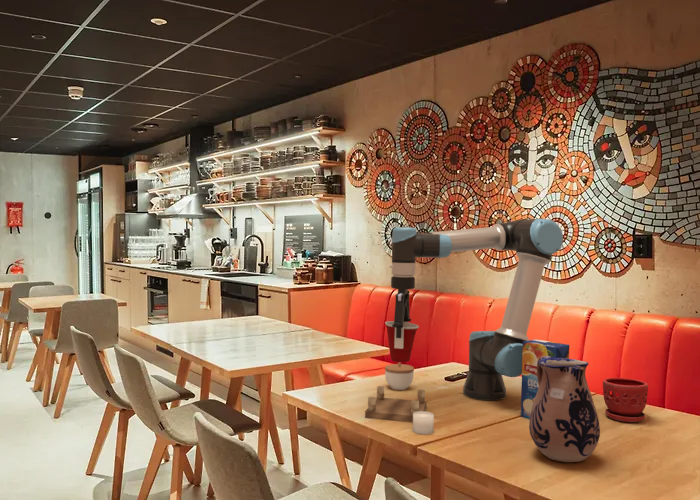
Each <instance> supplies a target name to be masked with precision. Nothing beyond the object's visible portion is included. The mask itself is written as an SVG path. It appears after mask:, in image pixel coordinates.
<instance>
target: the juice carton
mask: <svg viewBox="0 0 700 500" xmlns="http://www.w3.org/2000/svg"><path fill="white" fill-rule="evenodd" d="M543 356H550V357H554V358H567V359H570V344H567V343H566V344H565V343H560V342H556V341H555V342H554V341H548V340H543V339H536V338H535V339H531V340H530V339H529V341H524V342H523V353H522V375H521V387H520V389H521V390H520V391H521V394H520V396H521V397H520V418H524V419H528V420H530V414H531V409H532V406H533V403H534V399H535V397H536V394H537V392H538V389H539V384H538V378H537V363H538V360H539V359H540V358H541V357H543Z"/></svg>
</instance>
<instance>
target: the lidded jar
mask: <svg viewBox="0 0 700 500" xmlns="http://www.w3.org/2000/svg"><path fill="white" fill-rule="evenodd" d="M384 370H385V372H384V375H385V380H386V382H387V385H388V386H389V387H390V388H391V390H395V391H404V390H407V389H408V387H410V386H411V385H412V383H413V380H414V373H415V372H414V371H415V368H414V366H412V365H409V364H402V362H397V363H391V364H387V365H386V366H384Z"/></svg>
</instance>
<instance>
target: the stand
mask: <svg viewBox="0 0 700 500" xmlns="http://www.w3.org/2000/svg"><path fill="white" fill-rule="evenodd" d="M425 398H426V390H425V389H421V388H420V389H417V398H416V400H415V399H404V398H403V399H402V398H391V397H385V386H382V385H378V386H377V387H376V396H367V409H366V410H365V411H364V418H365V419H374V420H375V419H376V420H386V421H396V422H407V423H413V413H414V412H418V411H426V410H427V407H428V406H427V405H428V401H427V400H426V399H425Z"/></svg>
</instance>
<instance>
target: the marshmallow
mask: <svg viewBox="0 0 700 500" xmlns="http://www.w3.org/2000/svg"><path fill="white" fill-rule="evenodd" d="M434 416H435V415H434V413H433V412H430V411H426V410H425V411H418V412H414V413H413V422H412V432H413V433H414V434H417V435H431V434H433V433H434V425H435V424H434V423H435V421H434V419H435V417H434Z"/></svg>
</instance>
